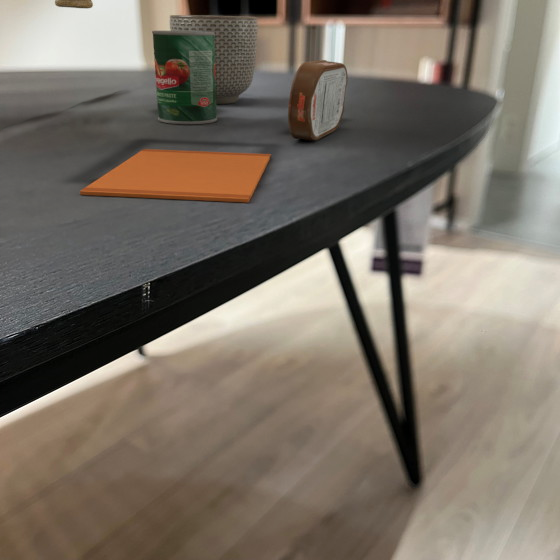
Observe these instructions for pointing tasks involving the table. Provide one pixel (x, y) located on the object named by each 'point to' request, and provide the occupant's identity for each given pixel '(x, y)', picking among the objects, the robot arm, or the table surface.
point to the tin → (317, 99)
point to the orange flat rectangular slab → (183, 176)
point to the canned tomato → (185, 76)
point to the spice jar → (74, 3)
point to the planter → (226, 50)
